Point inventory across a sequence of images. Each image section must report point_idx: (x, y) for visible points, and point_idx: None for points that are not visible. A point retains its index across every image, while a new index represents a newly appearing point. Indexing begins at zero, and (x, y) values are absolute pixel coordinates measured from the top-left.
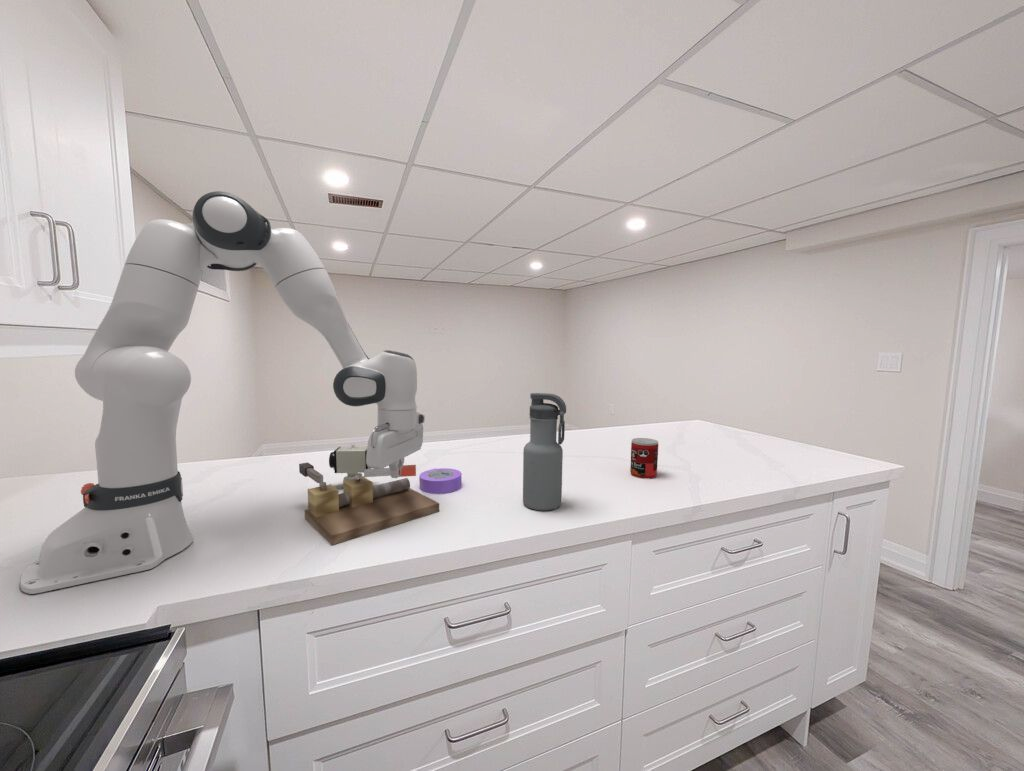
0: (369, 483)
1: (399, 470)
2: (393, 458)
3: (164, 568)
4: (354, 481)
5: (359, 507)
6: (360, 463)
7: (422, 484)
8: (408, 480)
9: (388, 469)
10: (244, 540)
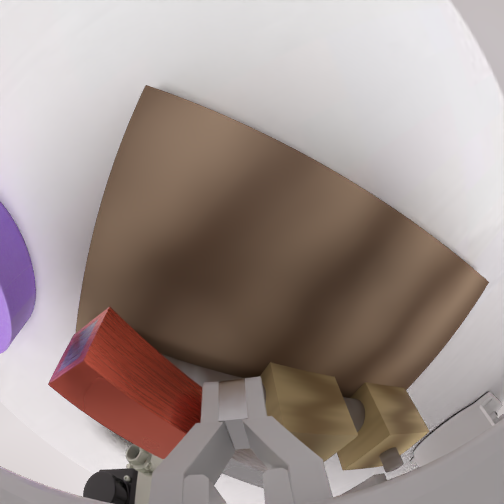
0: (296, 429)
1: (232, 418)
2: (474, 487)
3: (488, 386)
4: None
5: (327, 364)
6: (146, 500)
7: (23, 310)
8: None
9: (237, 460)
10: (441, 398)
